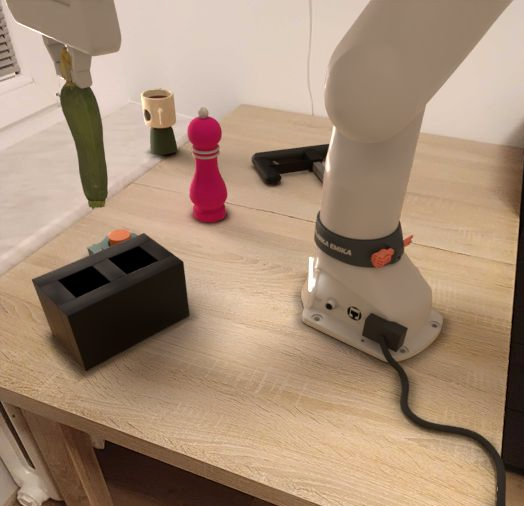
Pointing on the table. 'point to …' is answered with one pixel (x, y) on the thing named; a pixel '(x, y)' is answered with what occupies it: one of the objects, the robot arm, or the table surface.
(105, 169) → the vegetable
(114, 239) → the button
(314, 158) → the door handle
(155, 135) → the character mug
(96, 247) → the panel
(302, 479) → the table surface
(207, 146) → the pepper mill
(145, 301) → the toaster
